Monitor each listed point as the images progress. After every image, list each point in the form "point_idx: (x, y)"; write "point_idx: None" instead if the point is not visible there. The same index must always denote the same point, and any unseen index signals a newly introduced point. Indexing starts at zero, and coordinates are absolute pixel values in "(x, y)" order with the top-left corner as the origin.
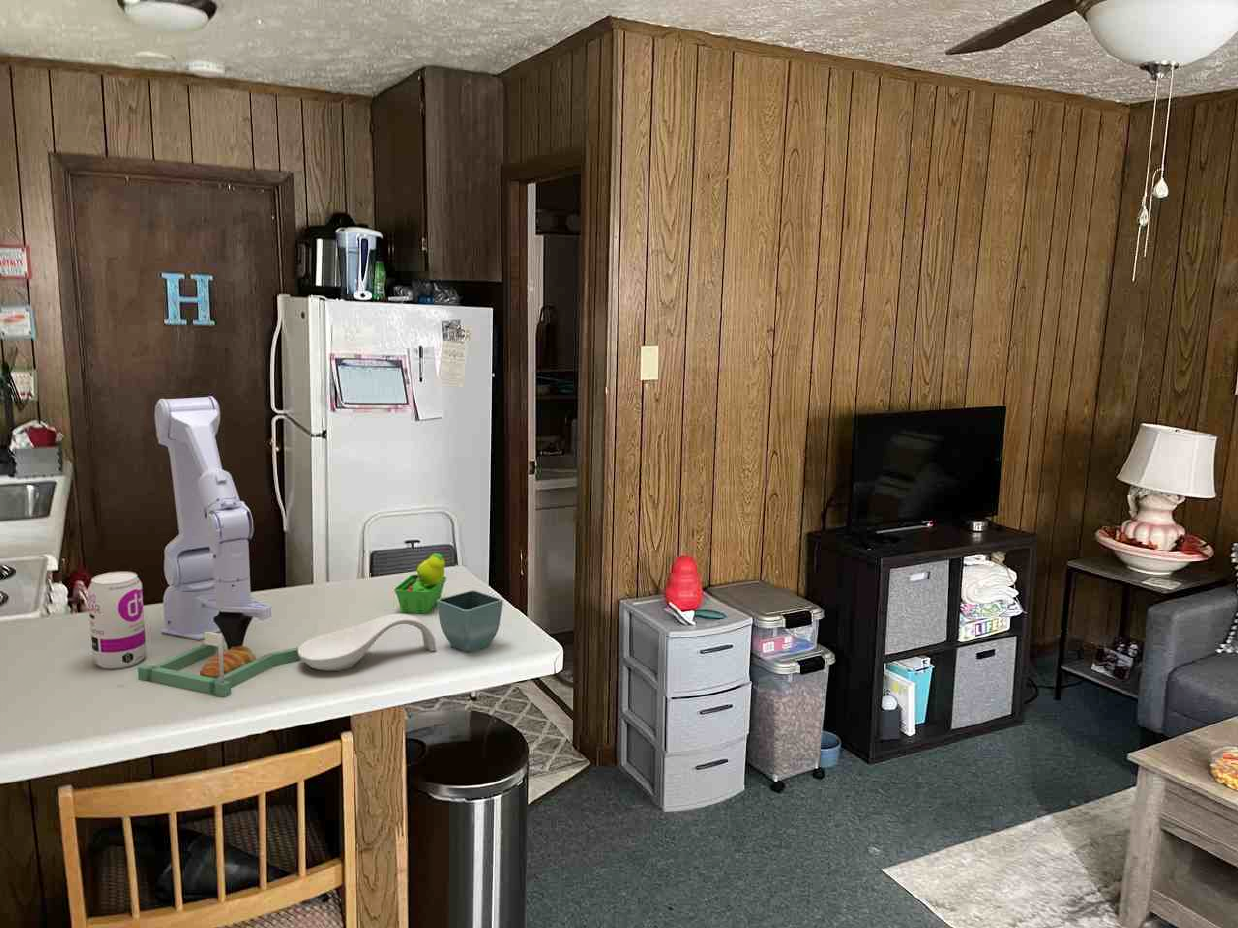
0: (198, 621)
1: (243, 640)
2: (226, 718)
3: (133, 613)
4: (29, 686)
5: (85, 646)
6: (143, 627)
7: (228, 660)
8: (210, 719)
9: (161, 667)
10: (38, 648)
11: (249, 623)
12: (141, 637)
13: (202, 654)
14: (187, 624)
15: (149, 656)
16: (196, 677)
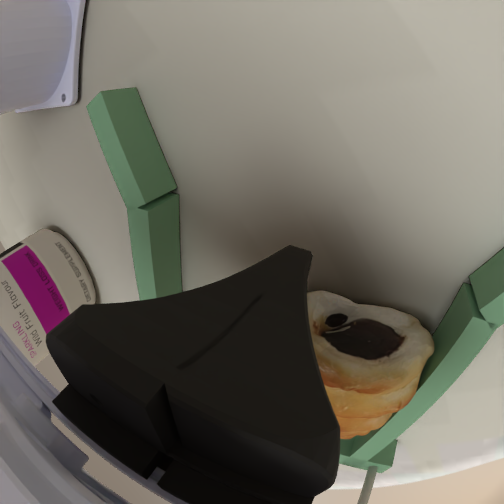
0: (22, 91)
1: (306, 279)
2: (412, 481)
3: None
4: None
5: (12, 212)
6: (25, 309)
7: (346, 435)
8: (388, 482)
9: None
10: (3, 231)
11: (318, 371)
12: (48, 309)
13: (168, 252)
14: (20, 107)
15: (78, 240)
16: None
